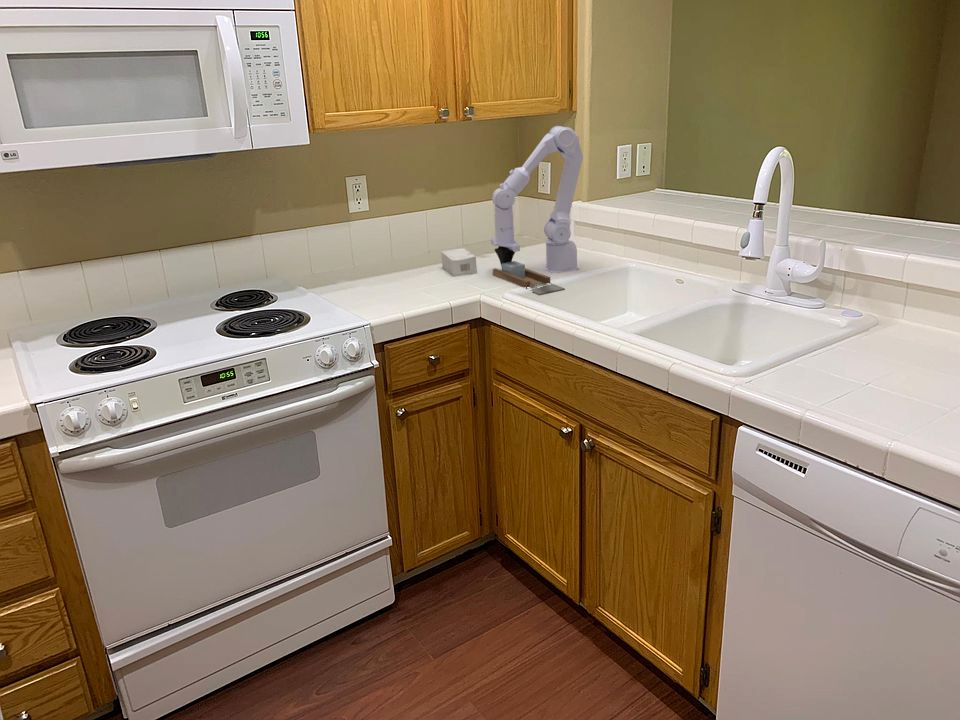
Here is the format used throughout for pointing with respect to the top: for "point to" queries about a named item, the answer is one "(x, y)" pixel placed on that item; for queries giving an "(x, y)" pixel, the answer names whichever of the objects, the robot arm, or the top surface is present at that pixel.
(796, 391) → the top surface
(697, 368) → the top surface
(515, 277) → the chute
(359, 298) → the top surface
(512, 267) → the block
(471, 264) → the skincare box
